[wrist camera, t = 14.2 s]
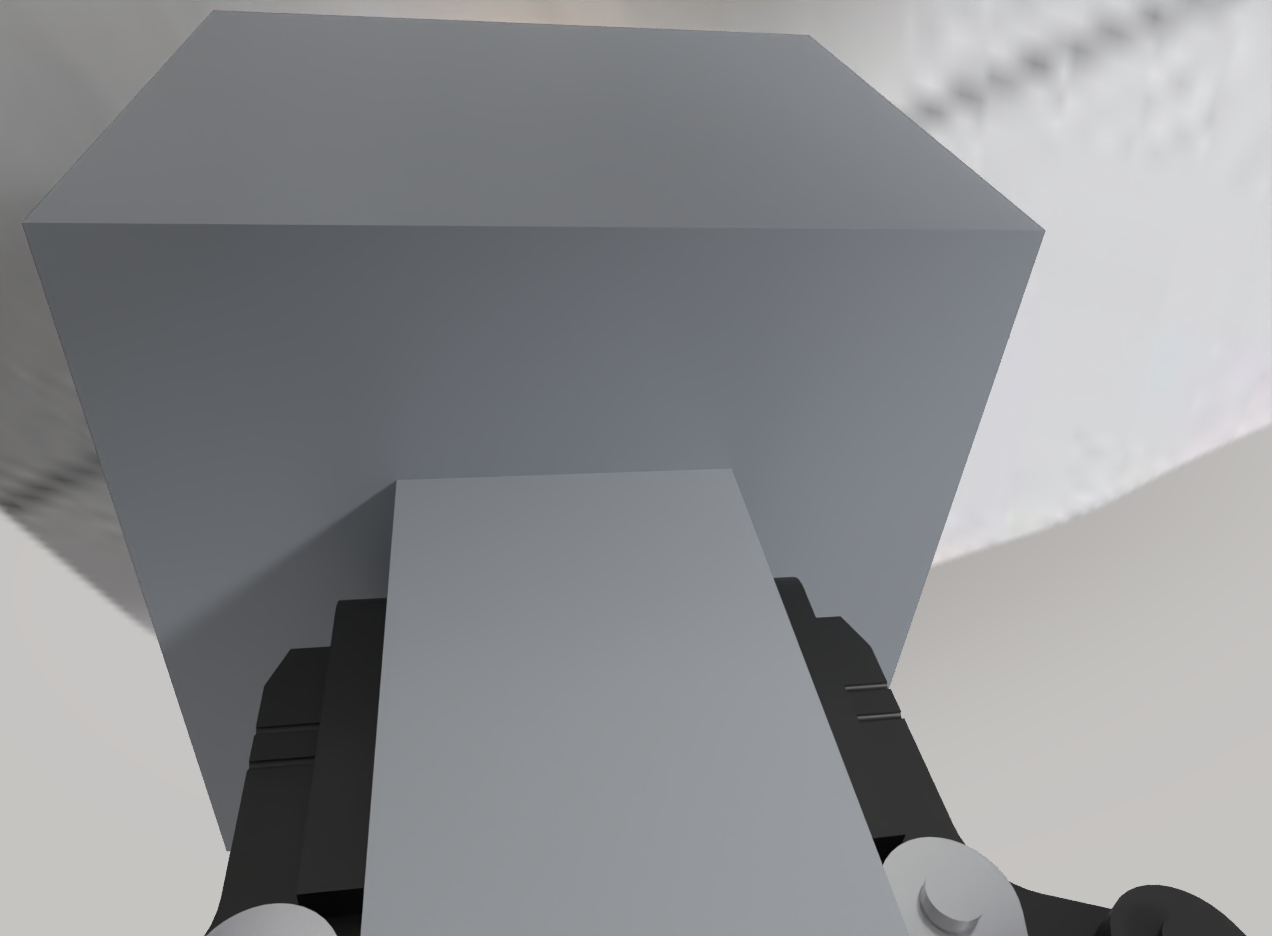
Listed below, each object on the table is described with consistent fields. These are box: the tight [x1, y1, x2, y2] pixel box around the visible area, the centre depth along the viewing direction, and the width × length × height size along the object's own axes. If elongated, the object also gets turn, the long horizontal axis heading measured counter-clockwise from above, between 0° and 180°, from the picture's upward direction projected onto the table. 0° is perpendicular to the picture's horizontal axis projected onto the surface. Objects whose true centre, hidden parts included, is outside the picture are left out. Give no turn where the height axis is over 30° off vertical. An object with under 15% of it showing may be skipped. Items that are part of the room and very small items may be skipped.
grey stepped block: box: [22, 10, 1045, 936], centre depth 14 cm, size 10×10×15 cm
